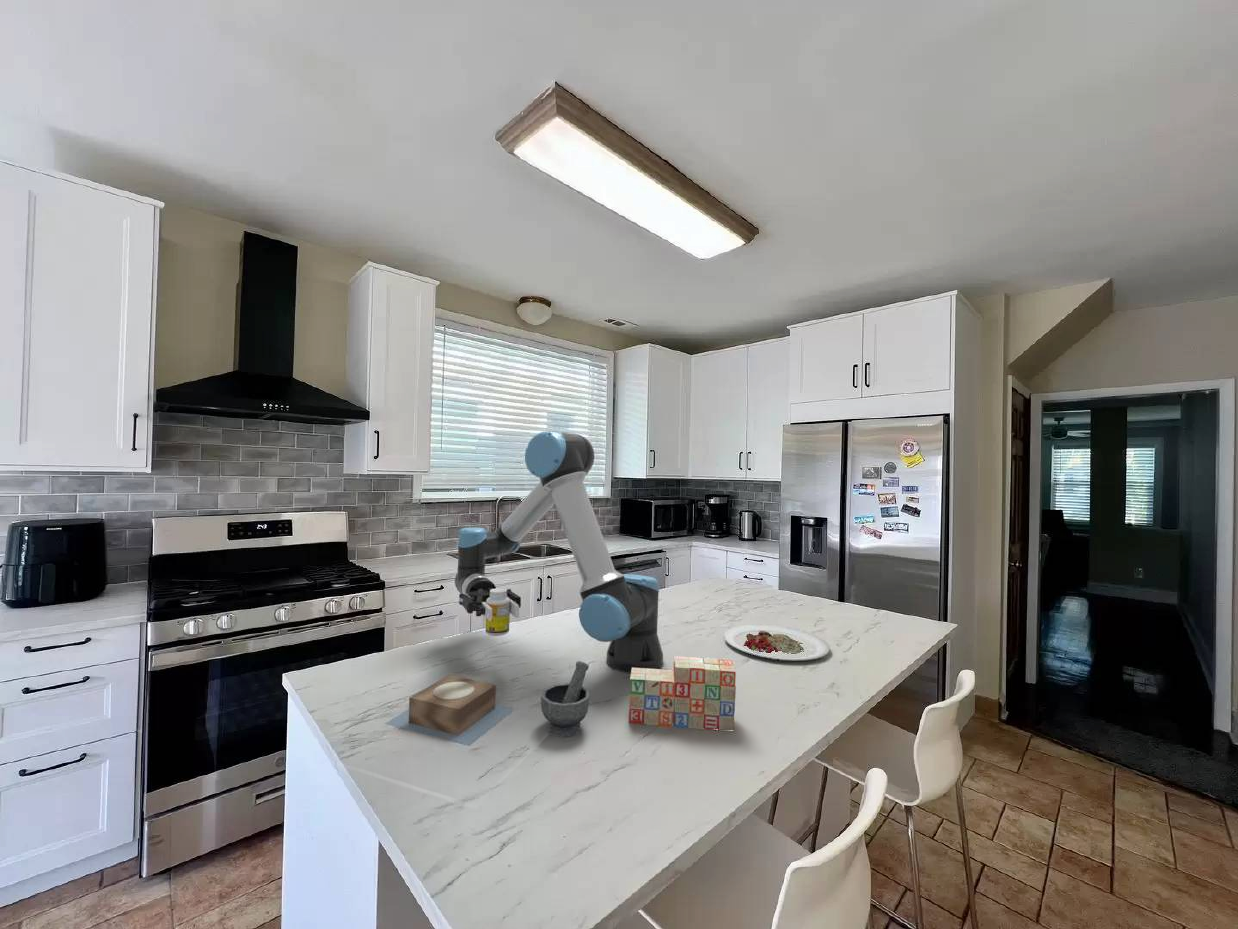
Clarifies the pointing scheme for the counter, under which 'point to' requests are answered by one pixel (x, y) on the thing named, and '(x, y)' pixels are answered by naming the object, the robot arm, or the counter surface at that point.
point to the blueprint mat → (463, 738)
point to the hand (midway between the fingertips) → (504, 613)
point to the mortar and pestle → (566, 703)
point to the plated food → (776, 641)
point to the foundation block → (452, 704)
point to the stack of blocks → (685, 694)
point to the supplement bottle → (498, 612)
